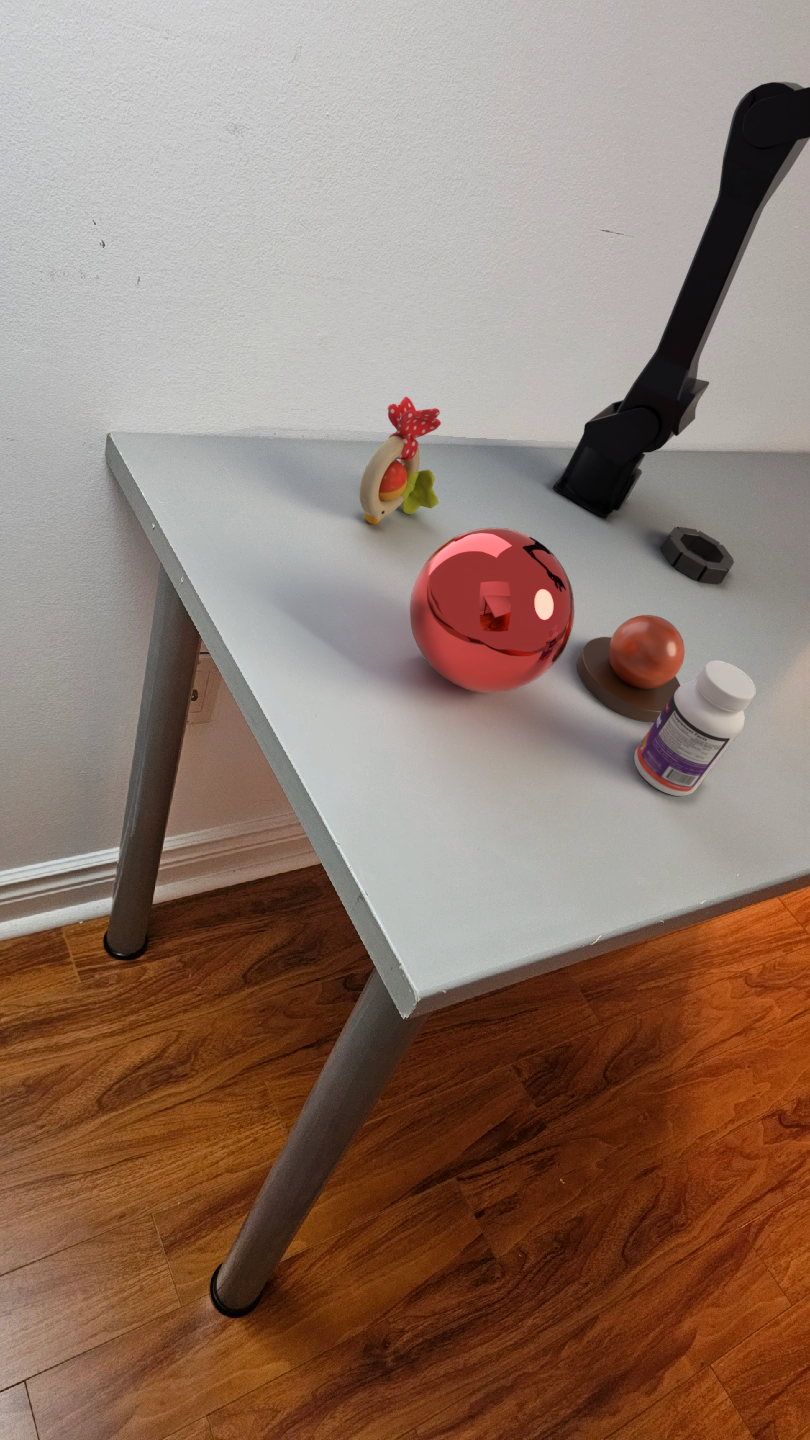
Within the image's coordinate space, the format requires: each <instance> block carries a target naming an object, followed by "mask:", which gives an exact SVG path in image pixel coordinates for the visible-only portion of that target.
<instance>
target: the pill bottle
mask: <svg viewBox="0 0 810 1440" xmlns="http://www.w3.org/2000/svg"><path fill="white" fill-rule="evenodd" d="M756 693H757V689H756V685H755V683H754V681H753V680H752V678H751V677H750V676H749V675H748V674H747V673H745V672H744V671H743V670H742V669H740V668H738V667H737V666H736V665H734V664H732V663H729V662H727V661H723V660H710V661H708V662H707V663H706V664H705V665H704V666H703V668H702V669H701V670H700V671H699V673H698V675H697V677H696V679H691V680H687V681H685V682H683V683H682V684H680V687H679V688H678V689H677V690H676V692H675V693H674V694H673V696H672V697H671V699H670V700H669V702H668V703H667V705H666V706H665V708H664V709H663V711H662V712H661V713H660V715H659V717H658V718H657V719H656V721H655V722H653V724H652V725H651V727H650V728H649V730H648V731H647V733H646V734H645V736H644V737H643V739H642V740H641V741H640V742H639V744H638V746H637V748H636V749H635V752H634V755H633V757H634V758H633V759H634V765H635V767H636V768H637V772H639V774H640V775H641V776H642V777H643V779H644V780H645V781H646V782H647V783H649V784H650V785H651V786H652V787H654V788H655V789H657V790H659V791H661V792H663V793H665V794H668V795H671V796H676V797H683V796H688V795H691V794H692V793H694V792H695V791H696V790H697V789H698V788H699V786H700V785H701V784H702V783H703V782H704V780H705V779H706V778H707V776H708V775H709V774H710V772H711V771H712V770H713V768H714V767H715V766H716V765H717V763H718V762H719V760H720V759H721V758H722V756H723V755H724V753H725V752H726V751H727V750H728V748H729V747H730V746H731V744H732V743H733V742H734V741H735V739H736V738H737V737H738V735H739V734H740V732H741V731H742V729H743V728H744V726H745V721H746V719H745V712H744V710H745V709H746V708H747V707H748V706H749V705H750V703H751V701H752V700H753V699H754V697H755V696H756Z"/></svg>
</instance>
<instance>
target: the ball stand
mask: <svg viewBox="0 0 810 1440" xmlns="http://www.w3.org/2000/svg"><path fill="white" fill-rule="evenodd" d="M684 659H685V643H684V639H683V637H682V635H681V633H680V632H679V630H678V629H677V627H676V626H675V625H673V623H671V622H670V621H669V620H667V619H666V618H663V617H661V616H659V615H653V614H642V615H637V616H633V617H631V618H629V619H627V620H626V621H624V622H623V623H621V625H619V626H618V627H617V628H616V630H615V631H614V633H613V635H612V636H599V637H596V638H593V639H591V640H589V641H588V642H587V643H586V644H585V645H584V647H583V648H582V650H581V652H580V653H579V655H578V657H577V660H576V670H577V673H578V677H579V678H580V681H581V682H582V684H583V685H584V686H585V688H586V689H587V690H588V692H589V693H591V695H592V696H593V697H595V698H596V699H597V700H598V701H599V702H600V703H602V704H603V705H604V706H605V707H607V708H609V709H610V710H612V711H614V712H616V713H618V714H620V715H622V716H625V717H627V718H630V719H632V720H636V721H640V722H648V723H654V722H655V721H656V719H657V718H658V717H659V715H660V713H661V712H662V711H663V709H664V708H665V706H666V705H667V703H668V702H669V700H670V699H671V697H672V696H673V694H674V693H675V692H676V690H677V689H678V688H679V687H680V686H681V684H680V681H679V679H678V678H677V675H678V673H679V672H680V670H681V669H682V666H683V664H684Z"/></svg>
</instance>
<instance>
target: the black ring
mask: <svg viewBox="0 0 810 1440" xmlns="http://www.w3.org/2000/svg"><path fill="white" fill-rule="evenodd" d="M660 549H661V550H660V551H661V553H662V554H663V556H664V557H665V559H666V560H667V562H668V563H669V564H670V565H671V566H673V567H674V569H675V570H677V571H679V572H680V573H682V574H684V575H685V576H687V577H689V578H690V579H692V580H694V581H698V582H699V583H704V584H712V585H719V584H722V583H723V581H724V580H725V578H726V576H727V575H728V574H729V572H730V570H731V569H732V567H733V566H734V564H735V559H734V557H733V556H732V555H731V554H730V552H729V551H728V549H727V548H726V547H725V546H724V545H723V544H721V542H720V541H718V540H717V539H715V538H714V537H711V536H709V535H708V534H706V533H704V532H703V531H701V530H699V531H698V530H697V529H696V528H690V527H684V526H674V527H673V528H672V530H671V531H670V533H668V535H667V537H666V539H665V540H664V542H663V543H662V545H661V547H660ZM689 550H691V551H692V552H694V553H696V554H698V555H700V556H701V557H699V556H697V555H696V554H694V553H692V552H691V551H689ZM702 557H703V558H704V559H703V558H702ZM705 559H706V560H705Z"/></svg>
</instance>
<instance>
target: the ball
mask: <svg viewBox="0 0 810 1440" xmlns="http://www.w3.org/2000/svg"><path fill="white" fill-rule="evenodd" d="M409 619H410V628H411V632H412V636H413V639H414V641H415V643H416V645H417V648H418V650H419V653H420V654H421V655H422V657H423V658H424V659H425V660H426V662H427V663H428V664H429V666H430V667H431V668H432V669H433V670H434V671H435V672H436V673H437V674H439V676H441V677H442V678H444V679H446V680H447V681H448V682H450V683H452V684H454V685H456V686H458V687H460V688H462V689H466V690H468V691H469V690H470V691H473V692H477V693H478V692H479V693H487V694H488V693H489V694H494V693H505V692H510V691H514V690H516V689H517V690H518V689H519V688H522V687H525V686H528V685H529V684H532V683H533V682H535V681H537V680H538V679H539V678H540V677H542V676H543V675H544V674H545V673H547V671H549V669H551V668H552V667H553V666H554V665H555V664H556V663H557V661H559V659H560V657H561V656H562V654H563V653H564V651H565V649H566V647H567V644H568V641H569V639H570V637H571V634H572V632H573V627H574V624H575V599H574V591H573V587H572V584H571V581H570V578H569V577H568V574H567V572H566V570H565V569H564V566H563V564H561V562H560V561H559V560H558V558H557V557H556V556H555V554H554V553H553V552H552V551H551V550H550V549H549V548H548V547H546V545H544V544H543V543H541V542H540V541H539V540H537V539H535V538H533V537H532V536H530V535H528V534H526V533H523V532H520V531H518V530H515V529H514V530H513V529H510V528H505V527H493V526H491V527H490V526H489V527H480V528H474V529H470V530H468V531H465V532H462V533H460V534H458V535H455V536H452V538H450V539H448V540H446V541H445V542H444V543H443V544H441V545H440V547H438V548H437V549H436V550H435V551H434V552H433V553H432V554H431V555H430V556H429V557H428V558H427V559H426V560H425V562H424V563H423V564H422V566H421V567H420V569H419V572H418V573H417V577H416V579H415V582H414V585H413V586H412V590H411V593H410V598H409Z"/></svg>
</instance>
